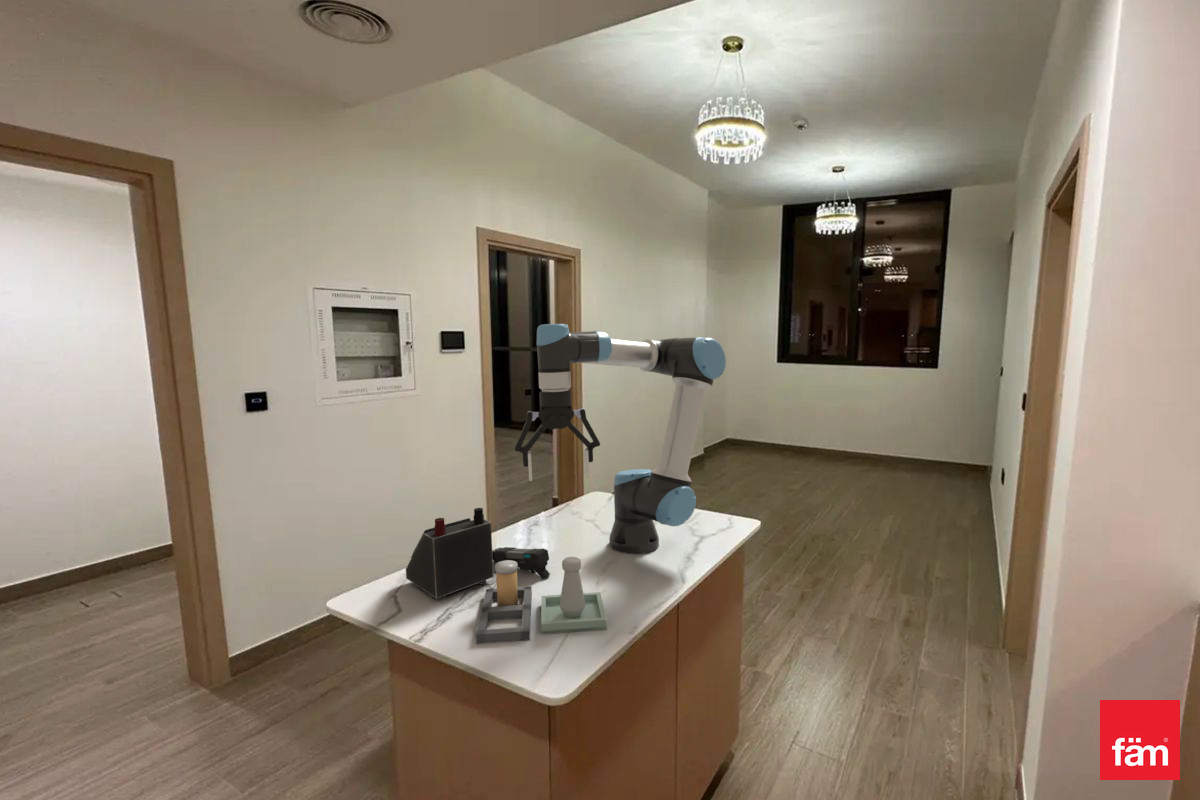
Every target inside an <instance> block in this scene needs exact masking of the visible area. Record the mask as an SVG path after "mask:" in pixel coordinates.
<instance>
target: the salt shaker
mask: <svg viewBox="0 0 1200 800" xmlns="http://www.w3.org/2000/svg"><path fill="white" fill-rule="evenodd" d="M561 567H562V570H563V571H564V574H563V578H562V579H563V580H562V584H561V585H562V587H561V593H560V595H561V598H560V608H561V610H562V612H563V613H564V615H565V617H567V618H577V617H580V616H581V613H582V611H583V609H584V607H585V599H584V594H583V593H584V589H583V585H582V584H583V583H582V580H581V575H580V574H581V573H580V570H581V569H582V561H581V559H580V558H579V557H578V556H567V557H565V558H564V559H563V560H562V562H561Z"/></svg>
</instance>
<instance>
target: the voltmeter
mask: <svg viewBox="0 0 1200 800" xmlns="http://www.w3.org/2000/svg"><path fill="white" fill-rule="evenodd" d="M492 533H493V532H492V522H491V521H489V520H487V519H485V516H484V508H483V507H476V508H474V509H473V520H471V519H470V517H468V518H464V519H461V520H456V521H453V522H450V523H446V524H445V518H444V517H437V518H435V519H434V526H433V527H431V528H428V529H425V530H424V531H423V533H422V535H421V537H420V538H419V541H418V543H417V545H416V546H415V548H414V550H413V551H412V555H411V557H410V560H409V562H408V564H407V566H406V568H405V576H406V577H405V578H406V579H407V580H408V581H409V582H411V583H413V585H414V586H416V587H418V588H420V589H422V590H423V591H424V592H426V593H428V595H430V596H432V597H433V598H435V599H436V600H438V601H440V600H441V601H442V600H444V599H445V598H446V597H445V596H447V595H449V594H452V593H455V592H457V591H460V590H462V589H466V588H468V587H471V586H474V585H476V584H478V585H486V583H487V580H490V579H492V578H494V563H493V562H494V561H493V558H492V550H493V538H492V536H493V535H492Z"/></svg>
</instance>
